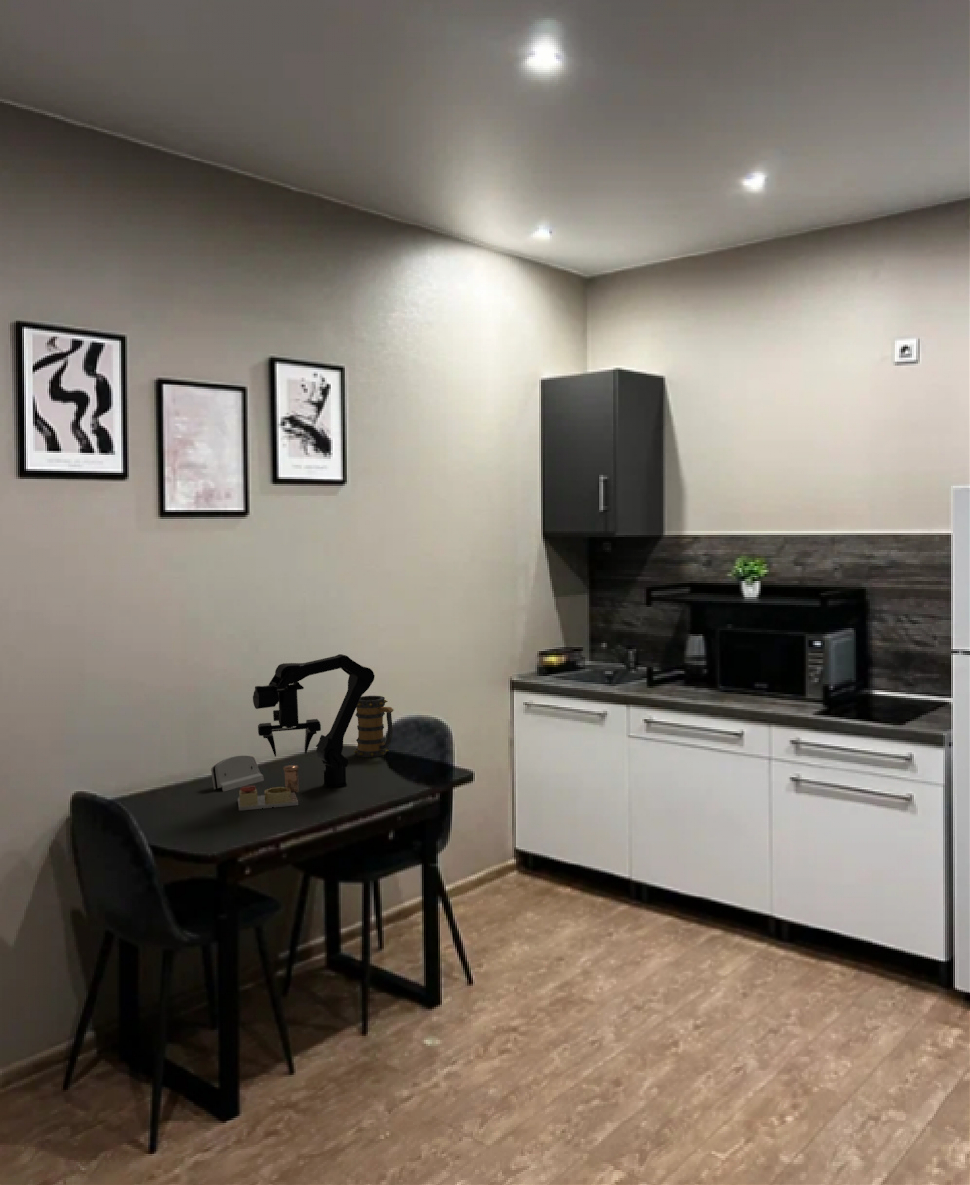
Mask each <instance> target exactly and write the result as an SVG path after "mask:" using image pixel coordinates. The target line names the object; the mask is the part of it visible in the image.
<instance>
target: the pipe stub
mask: <svg viewBox="0 0 970 1185" xmlns="http://www.w3.org/2000/svg"><path fill="white" fill-rule="evenodd" d="M282 769H283V771H284V786H285V787H286V788H290V790H291V793H294V792H295V794H297V793H300V792H299V769H300V767H299V765H297V764H291V765H290V764H289V765H285V766H283V768H282Z"/></svg>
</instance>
